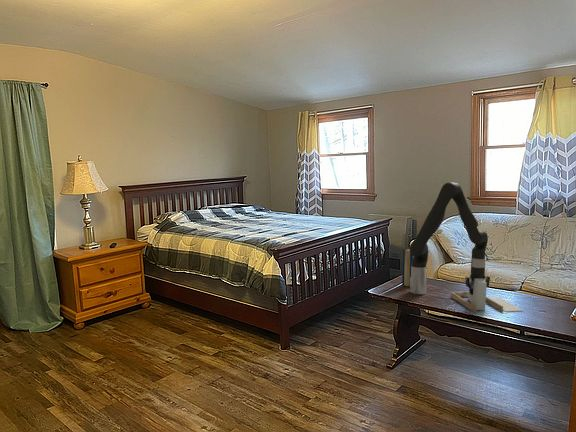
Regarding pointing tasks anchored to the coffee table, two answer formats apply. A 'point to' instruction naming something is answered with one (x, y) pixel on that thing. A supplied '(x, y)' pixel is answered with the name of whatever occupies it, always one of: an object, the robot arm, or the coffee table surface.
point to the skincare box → (478, 294)
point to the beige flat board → (506, 305)
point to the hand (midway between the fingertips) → (477, 294)
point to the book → (406, 267)
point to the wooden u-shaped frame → (458, 298)
